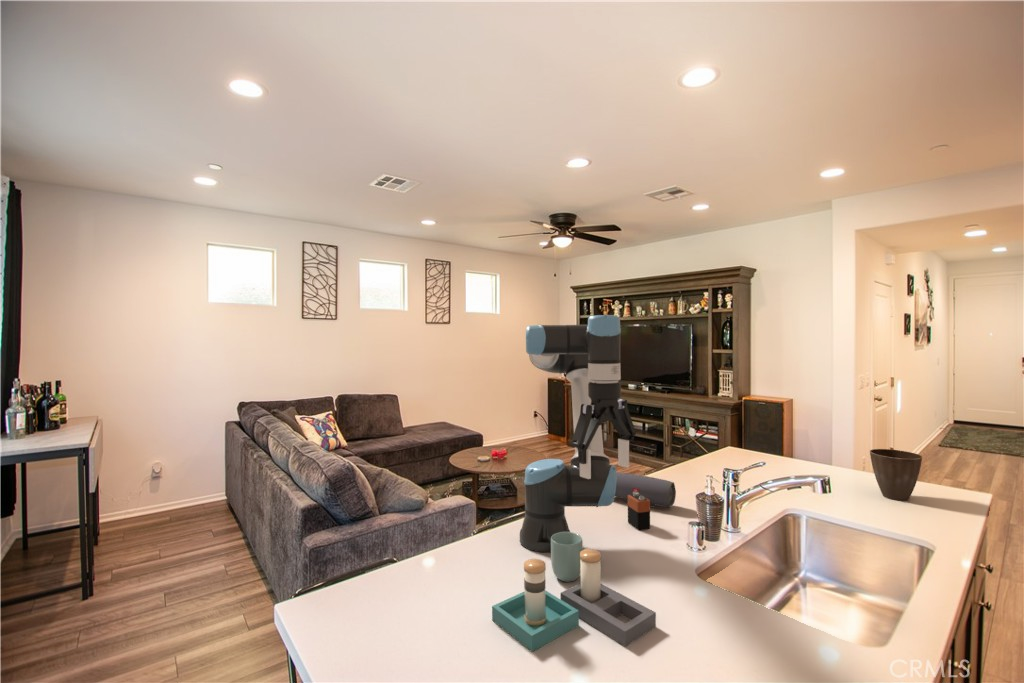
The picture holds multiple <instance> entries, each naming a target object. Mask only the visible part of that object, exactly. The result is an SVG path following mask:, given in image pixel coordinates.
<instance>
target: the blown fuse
mask: <svg viewBox="0 0 1024 683" xmlns="http://www.w3.org/2000/svg"><path fill="white" fill-rule="evenodd" d="M546 567H547V566H546V562H545V561H544V560H542V559H539V558H530V559H527V560H525V561H524V562H523V570H524V571H523V572H524V573H523V574H524V575H523V576H524V579H523V584H524V586H523V587H524V591H525V615H524V619H525V623H526V624H527V625H529V626H533V627H538V626H542V625H544V624H545V623H546V601H545V590H546V588H547V587H546V570H547V569H546Z"/></svg>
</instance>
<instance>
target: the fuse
mask: <svg viewBox="0 0 1024 683" xmlns="http://www.w3.org/2000/svg"><path fill="white" fill-rule="evenodd" d="M601 560H602V554H601V552H600V551H599V550H596V549H594V548H592V549H591V548H586V549H583V550H582V551H581V552H580V565H581V574H580V583H581V598H582V599H584V600H586V601H588V602H589V603H591V604H592V603H594V602H596V601H598V600H600V599H601V584H602V583H601V578H602V577H601Z"/></svg>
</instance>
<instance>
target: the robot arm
mask: <svg viewBox="0 0 1024 683" xmlns="http://www.w3.org/2000/svg"><path fill="white" fill-rule="evenodd" d="M621 332H622V328H621V318H620V317H619V316H618V315H614V314H604V315H602V314H597V315H590V316H589V317H588V318H587V324H565V325H564V324H562V325H561V324H558V325H557V324H551V325H550V324H549V325H547V324H545V325H544V324H536V325H528V326H527V327H526V329H525V351H526V354H527V355H528V356H529V361H530V363H531V364H532V365H533V366H534V368H537V369H538V370H542V371H544V372H547V373H551V374H565V377H566V380H567V381H568V382H569V383H570V386H571V387H570V388H571V403H572V405H571V406H572V420H573V423H572V424H573V436H572V438H571V442H570V446H571V447H572V448H574V455H573V456H572V457H571V458H570V460H569V461H570V464H569V465H568V464H567V465H566V464H565V462H564V460H562V459H561V458H560V459H559V458H557V459H556V458H546V459H544V458H543V459H540V460H537V461H534V462H531V463H530V464H528V465H527V466H526V468H525V471H524V480H523V482H524V485H525V486H524V489H525V490H524V497H525V498H524V512H525V513H524V517H523V520H522V521H523V522H522V526H521V529H520V530H519V543H520V545H521V544H522V545H523V546H522V547H524V548H525V547H526V549H527V548H528V549H527V550H530V549H531V550H530V551H533V550H535V552H539V551H540V553H551V536H552V535H554V534H556V533H559V532H571V530H570V528H569V524H568V522H567V517H566V511H565V509H566V508H565V507H575V508H576V507H595V508H598V507H610V506H611V505H612V504H613V503H614V500H615V498H616V497H615V492H616V479H617V474H616V472H617V468H616V466H615V465H614V464H611V462H610V458H609V457H608V456H607V455H606V454H605V453H604V452H605V451H604V443H603V442H604V441H603V440H604V439H603V429H602V424H603V423H607V422H611V425H612V426H613V427H614V429H615V431H616V432H617V434H618V435H619V437H620V438H617V455H618V456H617V461H618V462H617V465H618V466H619V467H623V468H630V451H631V448H630V445H631V443H630V442H631V441H633V440H634V439H635V436H636V435H637V431H636V428H635V426H634V423H633V421H632V420H633V419H632V417H631V415H630V411H629V409H628V400H627V399H625V398H624V399H621V397H622V384H621V382H619V381H621V379H622V376H621V334H622V333H621Z"/></svg>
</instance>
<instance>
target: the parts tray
mask: <svg viewBox="0 0 1024 683" xmlns="http://www.w3.org/2000/svg"><path fill="white" fill-rule="evenodd" d="M545 601H546V623H545V624H544V625H542V626H538V627H533V626H529V625H527V624H526V623H525V619H524V615H525V590H524V591H523V592H520V593H518V594H515V595H514V596H511V597H509V598H507V599H505V600H502V601H500V602H498V603H496V604H493V605H492V606H491V615H492V617H491V619H492V622H494V623H495V624H496V625H497V626H499V627H500V628H501V629H503V630H504V631H505V632H506V633H508V634H509V635H510V636H511V637H512V638H514V639H515V640H517V641H518V642H519V643H520V644H522V645H523V646H524V647H526V648H527V649H528V650H529V651H531V652H534V651H536V650H537V649H540V648H541V647H544V646H545V645H547V644H548V643H550V642H552V641H554V640H556V639H557V638H559V637H561V636H562V635H565V634H566V633H568V632H570V631H571V630H573V629H575V628H577V627H579V626H580V618H579V611H578V610H577V609H575V608H573V607H572V606H570V605H569V604H567V603H565V602H564V601H562V600H561V598H559V597H557V596H555V595H554V594H552V593H551V592H549V591H547V590H546V589H545Z"/></svg>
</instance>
